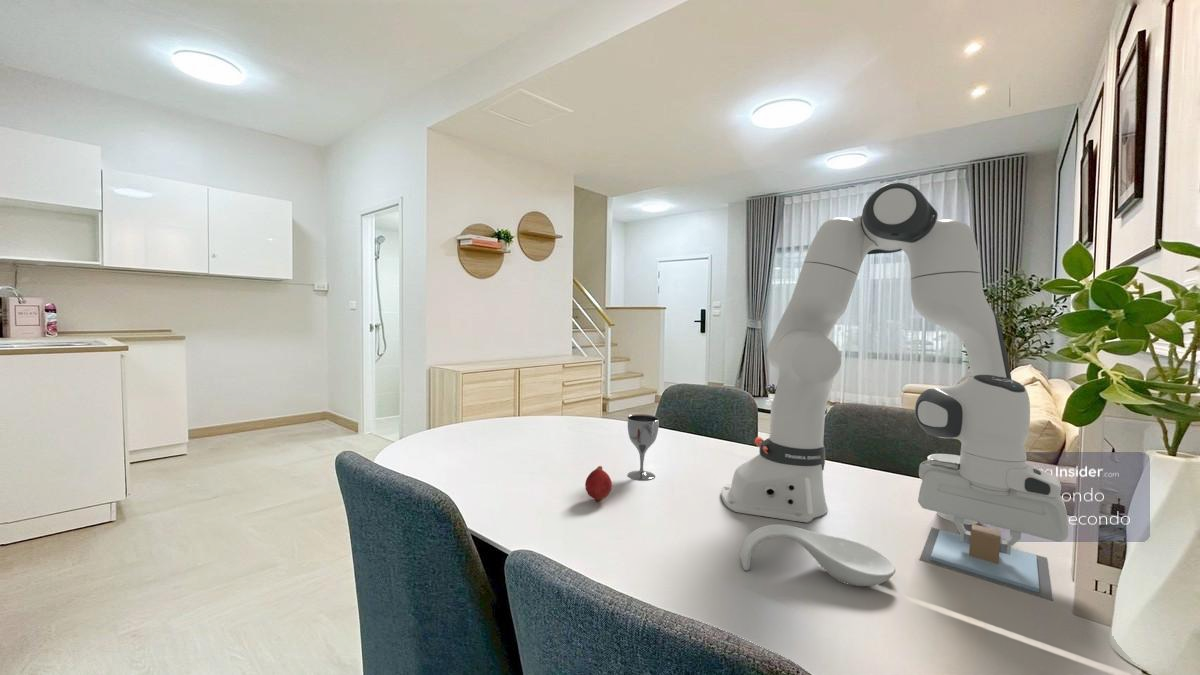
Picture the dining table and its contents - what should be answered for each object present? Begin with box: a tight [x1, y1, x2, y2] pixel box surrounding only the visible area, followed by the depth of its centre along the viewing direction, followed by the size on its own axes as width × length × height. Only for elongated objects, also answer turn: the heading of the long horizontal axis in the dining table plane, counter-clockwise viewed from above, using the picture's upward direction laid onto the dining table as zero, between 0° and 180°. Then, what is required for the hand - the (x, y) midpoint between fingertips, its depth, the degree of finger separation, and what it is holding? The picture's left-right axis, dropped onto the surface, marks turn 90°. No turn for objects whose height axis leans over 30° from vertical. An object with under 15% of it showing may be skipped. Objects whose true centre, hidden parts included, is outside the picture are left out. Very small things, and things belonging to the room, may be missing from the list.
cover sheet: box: [931, 524, 1039, 592], centre depth 84 cm, size 14×14×5 cm
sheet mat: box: [918, 527, 1054, 602], centre depth 85 cm, size 17×17×1 cm
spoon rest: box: [739, 523, 896, 587], centre depth 80 cm, size 24×12×7 cm, turn 83°
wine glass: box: [627, 413, 660, 482], centre depth 123 cm, size 8×8×15 cm
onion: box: [584, 465, 613, 503], centre depth 106 cm, size 6×6×8 cm
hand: (984, 547), depth 84 cm, fingers closed on cover sheet, 4 cm apart
